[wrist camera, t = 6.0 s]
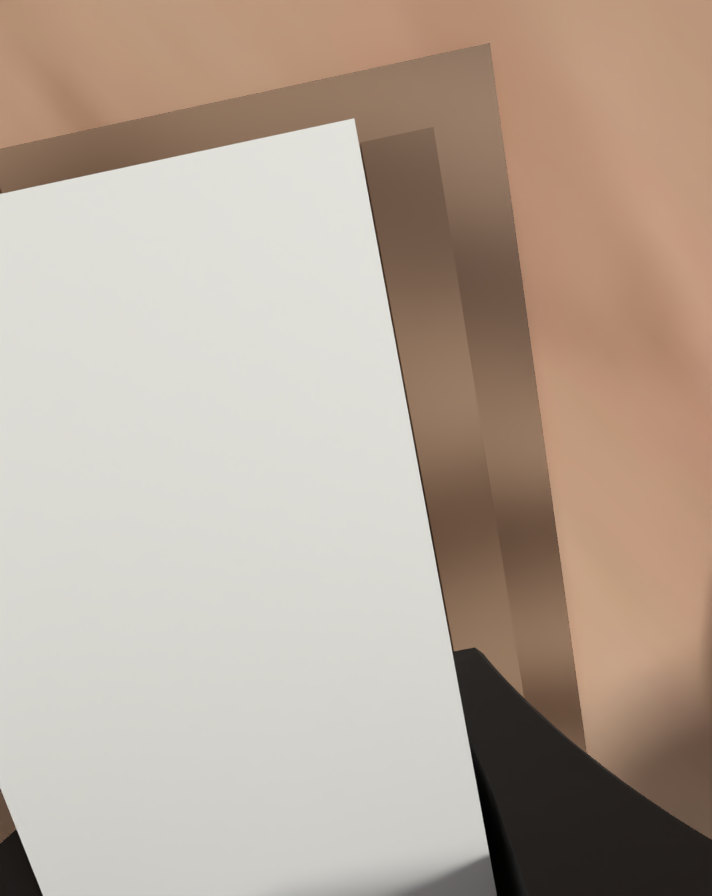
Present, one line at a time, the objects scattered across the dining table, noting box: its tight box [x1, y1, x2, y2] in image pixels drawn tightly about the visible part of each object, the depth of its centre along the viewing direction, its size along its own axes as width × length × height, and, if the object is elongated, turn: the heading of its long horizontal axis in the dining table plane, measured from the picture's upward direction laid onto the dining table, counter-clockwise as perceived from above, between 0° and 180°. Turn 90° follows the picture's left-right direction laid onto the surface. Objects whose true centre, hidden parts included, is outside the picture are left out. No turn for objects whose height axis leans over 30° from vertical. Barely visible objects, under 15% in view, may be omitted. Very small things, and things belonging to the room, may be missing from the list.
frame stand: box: [0, 43, 587, 753], centre depth 17 cm, size 22×12×3 cm, turn 11°
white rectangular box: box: [0, 118, 497, 896], centre depth 9 cm, size 14×4×8 cm, turn 11°
